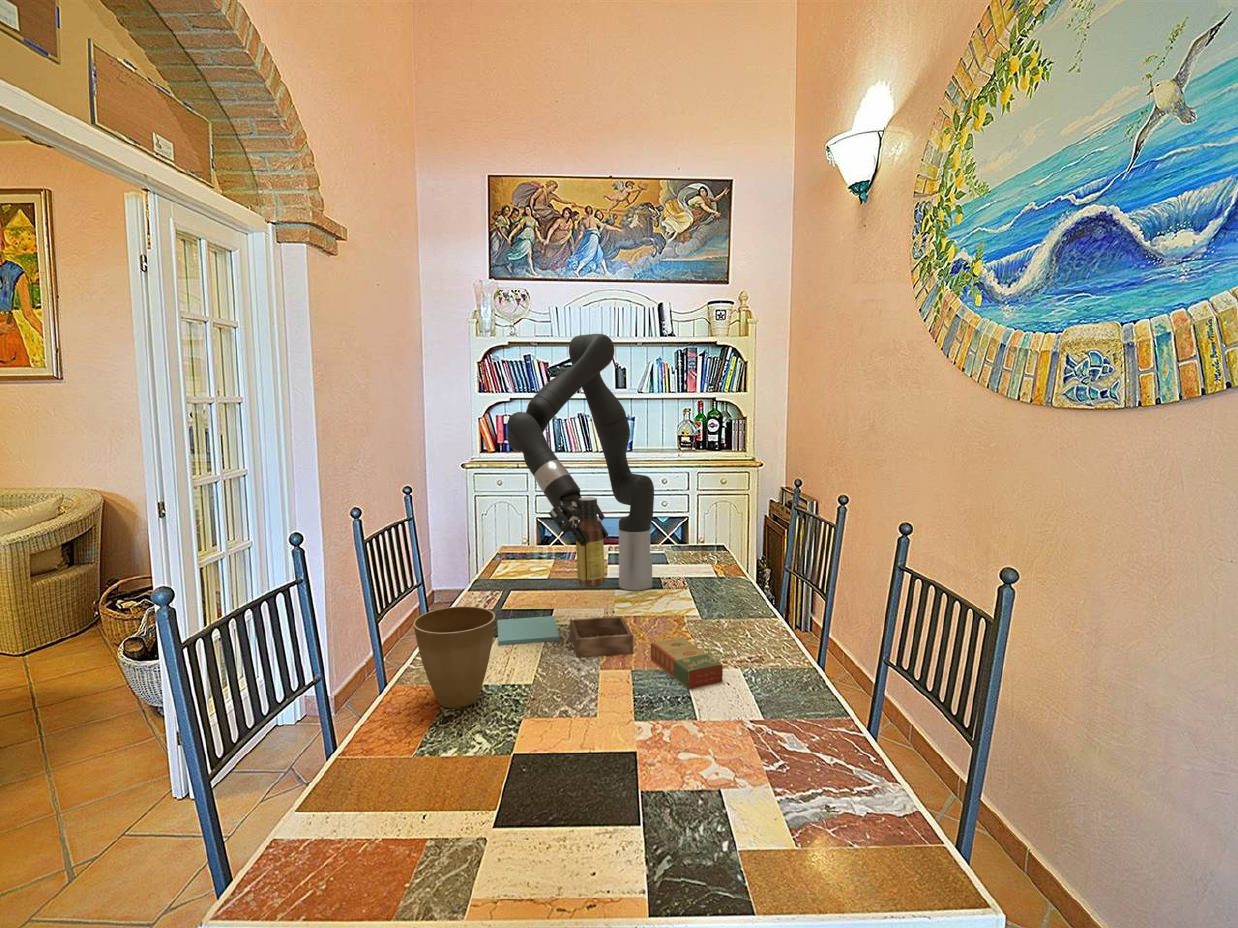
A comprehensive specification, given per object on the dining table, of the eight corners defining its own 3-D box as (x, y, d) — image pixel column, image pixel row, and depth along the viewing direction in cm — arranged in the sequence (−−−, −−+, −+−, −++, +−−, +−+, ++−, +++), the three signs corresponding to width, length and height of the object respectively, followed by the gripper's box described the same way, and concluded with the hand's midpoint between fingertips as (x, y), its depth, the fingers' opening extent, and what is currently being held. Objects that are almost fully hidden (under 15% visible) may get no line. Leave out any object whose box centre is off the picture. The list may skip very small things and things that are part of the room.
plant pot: (512, 690, 131) (510, 611, 129) (464, 725, 118) (461, 638, 116) (451, 676, 137) (448, 600, 135) (399, 708, 124) (395, 625, 122)
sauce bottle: (608, 581, 155) (608, 496, 153) (599, 589, 149) (599, 501, 147) (582, 578, 157) (581, 495, 155) (571, 586, 151) (571, 499, 149)
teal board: (553, 619, 170) (553, 615, 170) (559, 640, 156) (559, 636, 156) (497, 623, 167) (497, 619, 167) (498, 645, 153) (498, 641, 153)
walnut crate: (621, 632, 161) (621, 615, 161) (633, 652, 149) (633, 635, 148) (569, 636, 159) (569, 619, 158) (576, 657, 147) (576, 639, 146)
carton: (683, 653, 149) (683, 635, 149) (723, 683, 135) (724, 662, 134) (649, 660, 146) (650, 641, 145) (687, 691, 131) (688, 670, 131)
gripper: (543, 477, 149) (583, 537, 143) (585, 470, 160) (624, 525, 155) (526, 498, 153) (565, 557, 147) (569, 490, 164) (606, 544, 158)
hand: (595, 540), depth 151 cm, fingers closed on sauce bottle, 6 cm apart
